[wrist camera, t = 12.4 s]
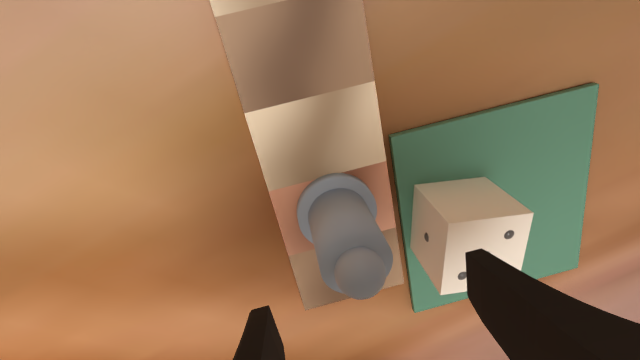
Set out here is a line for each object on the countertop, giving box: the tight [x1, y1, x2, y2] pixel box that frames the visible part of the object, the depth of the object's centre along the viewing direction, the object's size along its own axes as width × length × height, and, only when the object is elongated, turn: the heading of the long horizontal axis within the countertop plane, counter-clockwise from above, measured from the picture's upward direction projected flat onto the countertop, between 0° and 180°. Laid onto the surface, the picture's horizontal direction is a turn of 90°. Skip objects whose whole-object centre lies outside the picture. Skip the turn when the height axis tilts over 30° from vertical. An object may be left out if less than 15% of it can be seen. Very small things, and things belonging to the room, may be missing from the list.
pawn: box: [297, 173, 393, 299], centre depth 17 cm, size 4×4×6 cm
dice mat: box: [389, 83, 599, 313], centre depth 22 cm, size 11×12×1 cm
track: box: [210, 0, 404, 310], centre depth 18 cm, size 6×20×1 cm, turn 12°
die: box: [410, 177, 534, 295], centre depth 19 cm, size 4×4×4 cm
